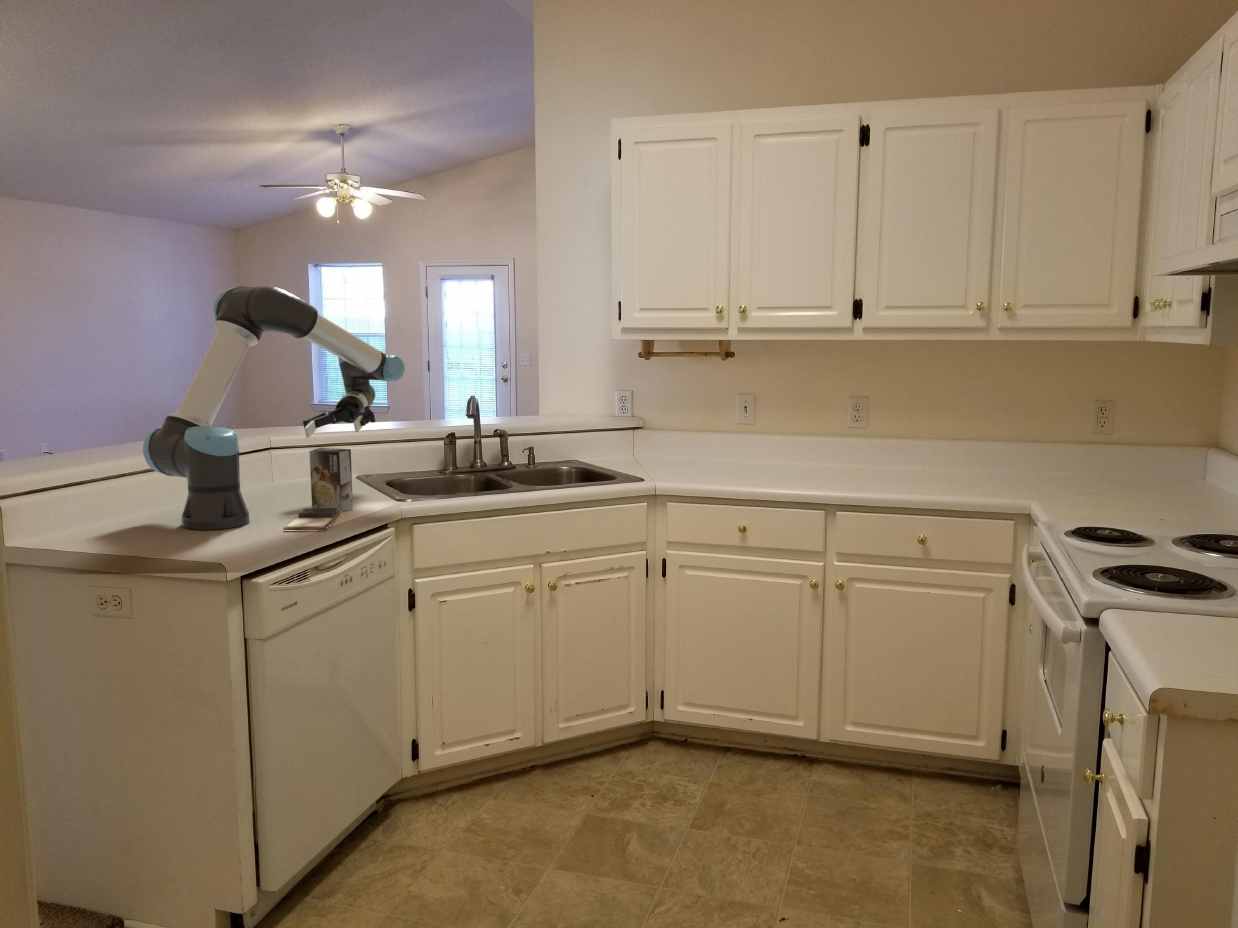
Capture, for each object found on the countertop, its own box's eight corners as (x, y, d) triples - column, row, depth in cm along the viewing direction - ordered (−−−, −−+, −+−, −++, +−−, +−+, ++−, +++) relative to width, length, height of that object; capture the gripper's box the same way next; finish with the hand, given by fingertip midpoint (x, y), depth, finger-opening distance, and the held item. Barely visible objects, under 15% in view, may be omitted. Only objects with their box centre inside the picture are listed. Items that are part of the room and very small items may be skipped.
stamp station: (283, 531, 213) (282, 523, 213) (302, 515, 231) (302, 507, 231) (324, 531, 214) (324, 522, 214) (340, 515, 232) (340, 507, 232)
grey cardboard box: (354, 507, 242) (352, 448, 240) (342, 512, 236) (340, 451, 234) (323, 505, 244) (321, 447, 242) (310, 510, 238) (308, 450, 235)
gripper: (395, 414, 266) (379, 438, 247) (312, 423, 267) (289, 448, 247) (390, 390, 264) (373, 412, 244) (307, 399, 264) (283, 422, 245)
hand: (331, 430), depth 246 cm, fingers open, 13 cm apart
